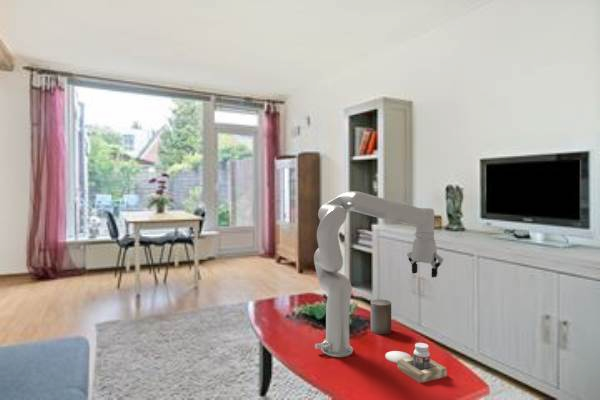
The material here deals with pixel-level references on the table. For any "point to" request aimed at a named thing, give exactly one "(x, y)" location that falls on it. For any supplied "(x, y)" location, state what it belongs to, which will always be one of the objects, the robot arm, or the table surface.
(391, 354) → the felt mat
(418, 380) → the socket block
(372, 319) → the pillar candle
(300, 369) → the table surface
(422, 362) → the pill bottle
